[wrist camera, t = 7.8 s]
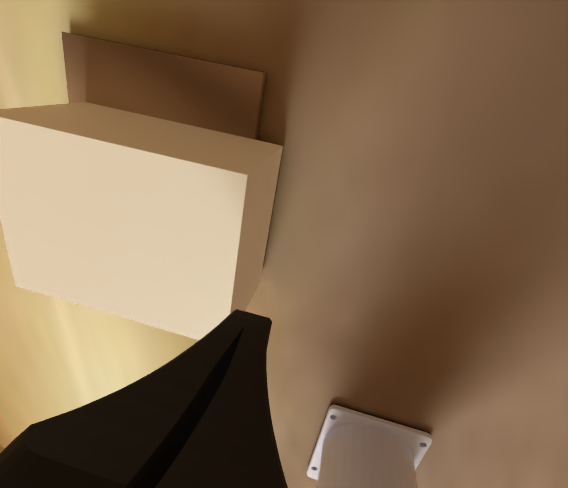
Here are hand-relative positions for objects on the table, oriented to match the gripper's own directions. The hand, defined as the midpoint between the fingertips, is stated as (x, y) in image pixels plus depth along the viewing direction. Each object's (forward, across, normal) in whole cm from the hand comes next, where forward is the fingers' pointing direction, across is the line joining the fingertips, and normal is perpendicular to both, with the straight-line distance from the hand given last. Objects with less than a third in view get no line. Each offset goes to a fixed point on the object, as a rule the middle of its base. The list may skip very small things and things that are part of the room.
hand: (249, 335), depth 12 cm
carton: (+6, +2, 0) cm, 7 cm away
